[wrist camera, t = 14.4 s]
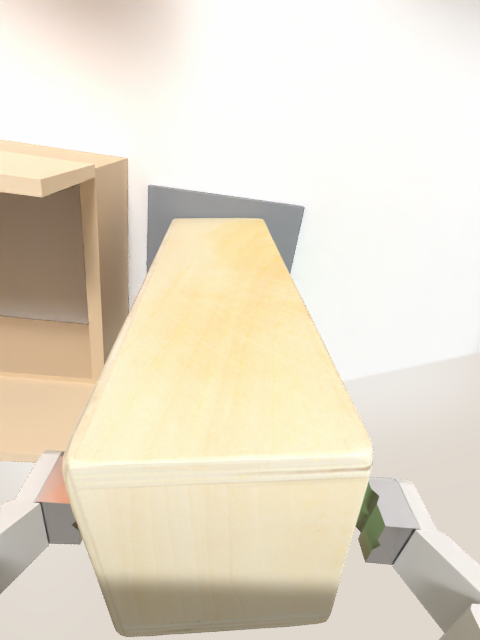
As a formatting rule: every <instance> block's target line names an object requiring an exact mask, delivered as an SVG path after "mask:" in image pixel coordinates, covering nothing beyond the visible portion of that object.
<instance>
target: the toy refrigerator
mask: <svg viewBox="0 0 480 640" xmlns="http://www.w3.org/2000/svg"><path fill="white" fill-rule="evenodd" d="M372 464H373V447H372V443H371V440H370V438H369V435H368V433H367V431H366V428H365V426H364V424H363V422H362V420H361V418H360V416H359V414H358V412H357V410H356V408H355V406H354V404H353V402H352V400H351V398H350V396H349V394H348V392H347V390H346V388H345V386H344V384H343V382H342V380H341V377H340V375H339V373H338V371H337V369H336V367H335V365H334V363H333V361H332V359H331V357H330V355H329V353H328V351H327V349H326V347H325V345H324V342H323V340H322V338H321V336H320V334H319V332H318V330H317V328H316V326H315V324H314V322H313V320H312V318H311V316H310V314H309V312H308V310H307V308H306V306H305V304H304V301H303V299H302V298H301V296H300V294H299V292H298V290H297V288H296V286H295V283H294V281H293V279H292V277H291V276H290V273H289V271H288V269H287V267H286V265H285V263H284V261H283V259H282V257H281V255H280V253H279V251H278V249H277V247H276V245H275V243H274V241H273V239H272V237H271V234H270V232H269V230H268V228H267V226H266V224H265V221H264V220H263V219H259V218H176V219H173V220H172V222H171V224H170V226H169V228H168V230H167V233H166V235H165V237H164V239H163V241H162V243H161V245H160V247H159V250H158V252H157V254H156V256H155V258H154V260H153V262H152V264H151V266H150V269H149V271H148V273H147V275H146V277H145V280H144V282H143V284H142V286H141V288H140V290H139V293H138V295H137V297H136V299H135V301H134V303H133V305H132V307H131V309H130V312H129V314H128V316H127V318H126V320H125V322H124V324H123V326H122V328H121V330H120V332H119V334H118V336H117V339H116V341H115V343H114V345H113V347H112V350H111V352H110V354H109V356H108V358H107V361H106V363H105V365H104V367H103V369H102V372H101V374H100V376H99V378H98V380H97V382H96V384H95V386H94V388H93V391H92V393H91V395H90V397H89V399H88V401H87V403H86V405H85V407H84V409H83V411H82V413H81V416H80V418H79V420H78V422H77V424H76V426H75V428H74V430H73V433H72V435H71V437H70V439H69V441H68V443H67V446H66V449H65V452H64V455H63V461H62V472H63V477H64V483H65V488H66V491H67V495H68V498H69V502H70V505H71V509H72V512H73V514H74V517H75V520H76V522H77V525H78V528H79V530H80V533H81V536H82V539H83V541H84V544H85V547H86V549H87V552H88V555H89V557H90V560H91V563H92V565H93V568H94V571H95V574H96V576H97V579H98V582H99V585H100V588H101V591H102V594H103V596H104V599H105V602H106V605H107V608H108V611H109V613H110V616H111V619H112V622H113V625H114V627H115V629H116V631H117V632H118V633H119V634H120V635H122V636H126V637H135V636H136V637H137V636H157V635H168V634H187V633H202V632H217V631H231V630H245V629H259V628H276V627H290V626H299V625H308V624H318V623H322V622H325V621H327V619H328V618H329V616H330V614H331V611H332V607H333V604H334V600H335V597H336V593H337V590H338V586H339V582H340V579H341V575H342V572H343V568H344V565H345V561H346V557H347V554H348V550H349V547H350V544H351V540H352V536H353V533H354V529H355V526H356V523H357V519H358V516H359V513H360V509H361V506H362V502H363V499H364V495H365V492H366V488H367V485H368V481H369V478H370V474H371V469H372Z"/></svg>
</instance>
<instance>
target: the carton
mask: <svg viewBox="0 0 480 640" xmlns="http://www.w3.org/2000/svg"><path fill="white" fill-rule="evenodd" d="M76 184H79V187H80V202H81V216H82V231H83V246H84V261H85V276H86V291H87V305H88V320H89V324H79V323H68V322H58V321H48V320H37V319H27V318H16V317H6V316H0V461H13V462H32V463H36V462H37V460H38V459H39V457H40V455H41V454H42V453H43V452H44V451H45V450H54V451H65V449H66V446H67V443H68V441H69V439H70V437H71V435H72V433H73V430H74V428H75V426H76V424H77V422H78V420H79V418H80V416H81V413H82V411H83V409H84V407H85V405H86V403H87V401H88V399H89V397H90V395H91V393H92V391H93V388H94V386H95V384H96V382H97V380H98V378H99V376H100V374H101V372H102V369H103V367H104V365H105V363H106V361H107V358H108V356H109V354H110V352H111V350H112V347H113V345H114V343H115V341H116V339H117V336H118V334H119V332H120V330H121V328H122V326H123V324H124V322H125V320H126V318H127V316H128V314H129V309H128V173H127V158H122V157H115V156H109V155H102V154H95V153H88V152H81V151H74V150H68V149H61V148H54V147H47V146H40V145H33V144H26V143H20V142H13V141H6V140H0V192H5V193H12V194H20V195H28V196H35V197H45V196H48V195H50V194H53V193H55V192H58V191H60V190H63V189H66V188H68V187H71V186H73V185H76Z"/></svg>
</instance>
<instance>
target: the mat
mask: <svg viewBox="0 0 480 640" xmlns="http://www.w3.org/2000/svg"><path fill="white" fill-rule="evenodd" d="M303 213H304V207H303V206H298V205H290V204H283V203H276V202H269V201H262V200H255V199H247V198H240V197H233V196H226V195H219V194H211V193H204V192H197V191H190V190H183V189H175V188H168V187H161V186H154V185H149V186H148V232H147V273H148V271H149V269H150V266H151V264H152V262H153V260H154V258H155V256H156V254H157V252H158V250H159V247H160V245H161V243H162V241H163V239H164V237H165V235H166V233H167V230H168V228H169V226H170V224H171V222H172V220H173V219H176V218H259V219H263V220H264V221H265V224H266V226H267V228H268V230H269V232H270V234H271V237H272V239H273V241H274V243H275V245H276V247H277V249H278V251H279V253H280V255H281V257H282V259H283V261H284V263H285V265H286V267H287V269H288V271H289V273H290V272H291V267H292V263H293V258H294V254H295V249H296V245H297V240H298V235H299V231H300V226H301V222H302V217H303Z"/></svg>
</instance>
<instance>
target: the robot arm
mask: <svg viewBox="0 0 480 640" xmlns="http://www.w3.org/2000/svg"><path fill="white" fill-rule="evenodd" d="M64 452H65V451H54V450H45V451H44V452H43V453H42V454H41V455H40V457H39V459H38V460H37V462H36V464H35V465H34V467H33V469H32V470H31V472H30V474H29V476H28V477H27V479H26V481H25V482H24V484H23V486H22V487H21V489H20V491H19V493H18V494H17V496H16V498H15V499H14V501H7V502H6V503H4V504H3V505H1V506H0V594H1V593H2V592H3V591H4V590H5V589H6V588H7V587H8V586H9V585H10V584H11V583H12V582H13V581H14V580H15V579H16V578H17V577H18V576H19V575H20V574H21V573H22V572H23V571H24V570H25V569H26V568H27V567H28V566H29V565H30V564H31V563H32V562H33V561H34V560H35V559H36V558H37V557H38V556H39V555H40V553H42V552H43V550H45V549H46V548H47V547H48V546H49V544H48V543H52V544H80V543H81V541H82V536H81V533H80V530H79V528H78V525H77V522H76V520H75V517H74V514H73V512H72V509H71V505H70V502H69V498H68V495H67V491H66V488H65V483H64V477H63V472H62V461H63V455H64ZM356 527H357V528H358V530H359V531H360V532H361V534H360V536H359V539H358V540H359V543H360V546H361V550H362V553H363V556H364V559H365V562H369V563H380V564H390V565H393V568H394V569H395V570H396V572H397V573H398V574H399V575H400V577H401V578H402V579H403V581H404V582H405V583H406V584H407V586H408V587H409V588H410V590H411V591H412V592H413V593H414V595H415V596H416V597H417V598H418V600H419V601H420V602H421V604H422V605H423V606H424V607H425V609H426V610H427V611H428V613H429V614H430V615H431V616H432V618H433V619H434V620H435V621H436V623H437V624H438V625H439V627H440V628H441V629H442V630H443V632H444V633H445V634H444V635H443V636H442V637H441V638H440V639H439V640H480V565H478V563H476V562H475V561H474V560H473V559H472V558H471V557H470V556H469V555H468V554H466V552H464V551H463V550H462V549H461V548H460V547H459V546H458V545H457V544H456V543H454V542H453V541H452V540H451V539H450V538H449V537H448V536H447V535H446V534H444V533H443V532H442V531H437V529H436V527H435V525H434V523H433V521H432V519H431V517H430V515H429V513H428V511H427V509H426V507H425V506H424V503H423V501H422V499H421V498H420V495H419V493H418V491H417V490H416V488H415V486H414V484H413V483H412V482H411V481H410V480H404V479H393V478H382V477H370V478H369V481H368V485H367V488H366V492H365V495H364V499H363V502H362V506H361V509H360V513H359V516H358V519H357V523H356Z"/></svg>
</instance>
